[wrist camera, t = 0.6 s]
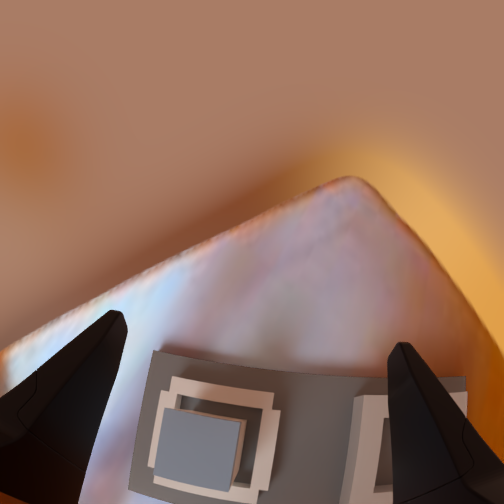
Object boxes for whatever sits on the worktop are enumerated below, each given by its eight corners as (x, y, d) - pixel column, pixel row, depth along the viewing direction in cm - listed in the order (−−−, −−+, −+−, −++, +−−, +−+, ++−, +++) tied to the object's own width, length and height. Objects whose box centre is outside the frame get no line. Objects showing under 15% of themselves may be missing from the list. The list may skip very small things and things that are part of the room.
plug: (238, 470, 18) (228, 492, 12) (184, 459, 19) (152, 474, 13) (247, 420, 20) (239, 422, 14) (192, 410, 21) (164, 407, 15)
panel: (445, 505, 15) (467, 512, 12) (132, 487, 18) (114, 495, 15) (459, 377, 21) (482, 370, 18) (157, 352, 24) (142, 342, 21)
